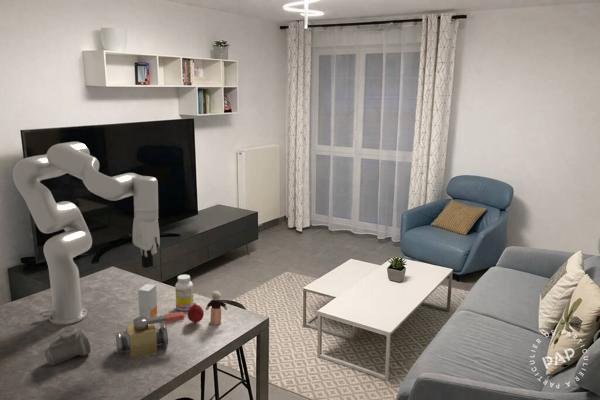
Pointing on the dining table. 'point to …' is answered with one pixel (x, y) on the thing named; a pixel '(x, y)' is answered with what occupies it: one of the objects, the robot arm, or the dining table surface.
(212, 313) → the grandmother figurine
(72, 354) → the pipe fitting
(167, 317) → the lever
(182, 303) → the supplement bottle
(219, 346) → the dining table surface
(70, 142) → the robot arm
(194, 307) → the onion
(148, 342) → the valve
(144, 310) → the skincare box
